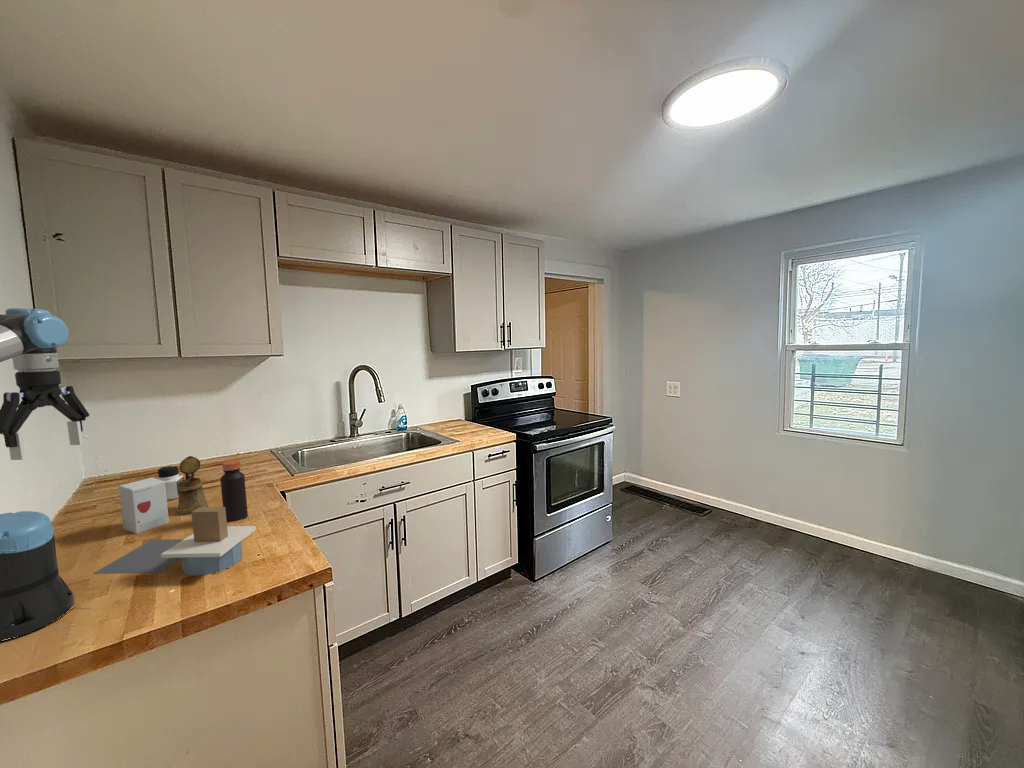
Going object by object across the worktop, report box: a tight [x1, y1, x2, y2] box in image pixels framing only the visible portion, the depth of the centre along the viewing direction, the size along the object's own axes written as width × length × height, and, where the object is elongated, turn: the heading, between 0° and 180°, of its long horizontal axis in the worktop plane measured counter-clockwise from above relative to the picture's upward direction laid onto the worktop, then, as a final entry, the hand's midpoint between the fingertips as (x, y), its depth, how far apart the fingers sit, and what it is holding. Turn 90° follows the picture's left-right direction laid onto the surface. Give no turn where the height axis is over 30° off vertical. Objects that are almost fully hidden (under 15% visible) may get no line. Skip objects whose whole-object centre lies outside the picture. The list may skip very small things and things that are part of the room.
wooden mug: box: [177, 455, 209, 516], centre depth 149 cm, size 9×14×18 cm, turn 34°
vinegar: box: [220, 459, 249, 523], centre depth 139 cm, size 7×7×20 cm
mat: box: [92, 538, 185, 575], centre depth 116 cm, size 18×18×1 cm
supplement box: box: [118, 477, 170, 534], centre depth 134 cm, size 9×9×15 cm
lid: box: [161, 506, 257, 558], centre depth 111 cm, size 15×15×10 cm
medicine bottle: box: [157, 465, 185, 501], centre depth 160 cm, size 7×7×12 cm
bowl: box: [181, 541, 243, 576], centre depth 112 cm, size 13×13×6 cm
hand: (49, 451), depth 106 cm, fingers open, 13 cm apart
